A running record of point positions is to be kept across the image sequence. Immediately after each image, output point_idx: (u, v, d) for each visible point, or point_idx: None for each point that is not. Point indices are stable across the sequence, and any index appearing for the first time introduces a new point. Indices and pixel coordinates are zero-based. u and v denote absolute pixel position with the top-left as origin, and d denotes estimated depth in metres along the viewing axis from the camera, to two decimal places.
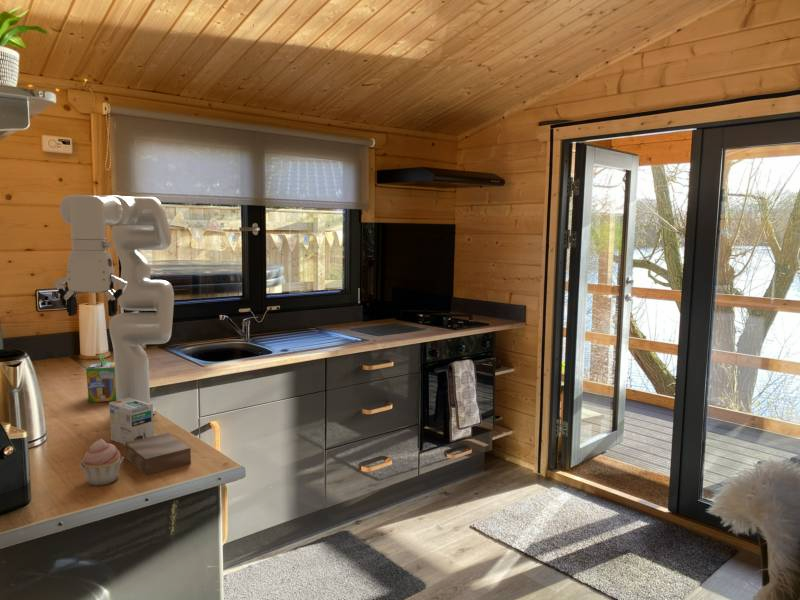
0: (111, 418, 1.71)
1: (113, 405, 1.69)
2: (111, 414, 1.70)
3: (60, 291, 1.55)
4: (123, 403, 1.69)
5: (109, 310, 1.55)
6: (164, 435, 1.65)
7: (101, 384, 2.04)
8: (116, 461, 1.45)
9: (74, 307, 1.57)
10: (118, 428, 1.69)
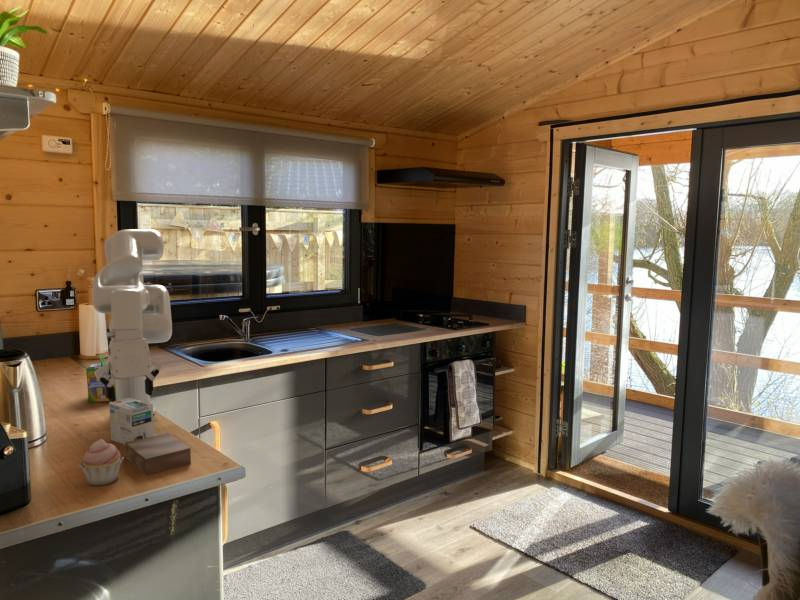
0: (111, 418, 1.71)
1: (113, 405, 1.69)
2: (111, 414, 1.70)
3: None
4: (123, 403, 1.69)
5: None
6: (164, 435, 1.65)
7: (101, 384, 2.04)
8: (116, 461, 1.45)
9: (147, 388, 1.72)
10: (118, 428, 1.69)
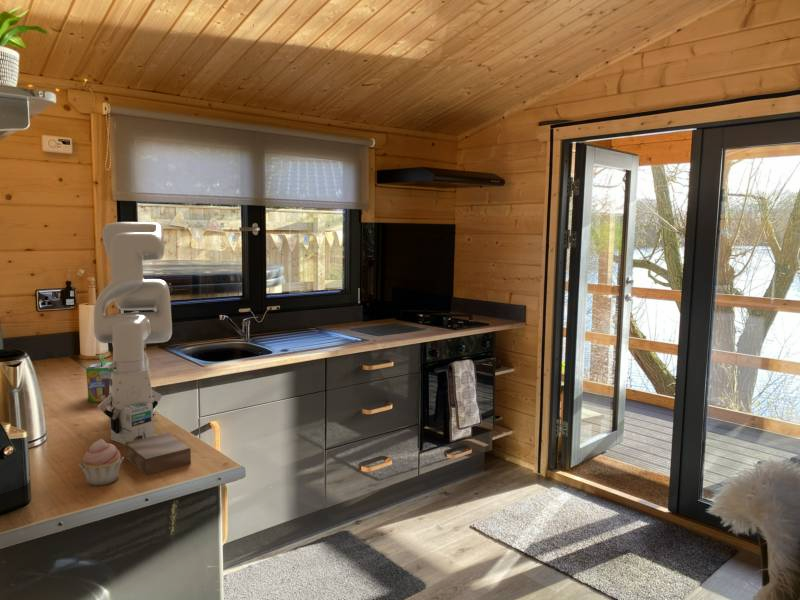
0: None
1: None
2: None
3: None
4: None
5: None
6: (164, 435, 1.65)
7: (101, 384, 2.04)
8: (116, 461, 1.45)
9: None
10: None
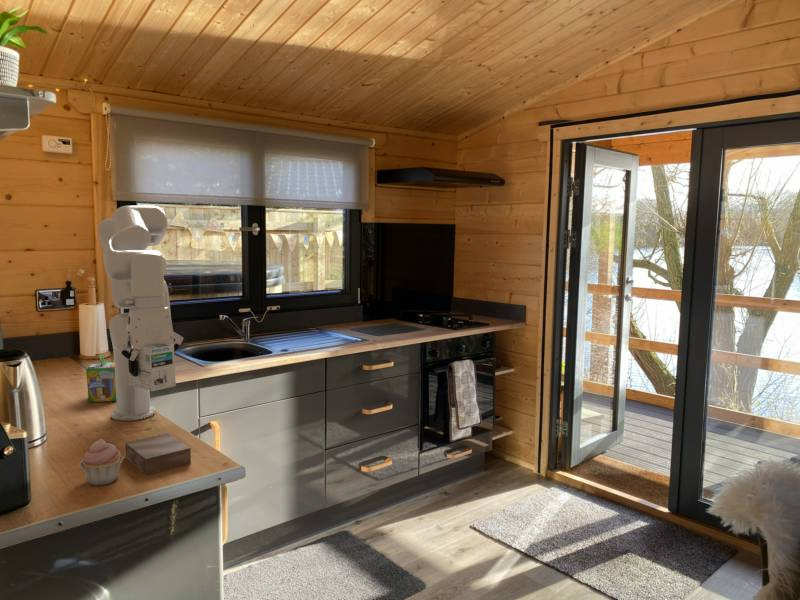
0: None
1: None
2: None
3: None
4: None
5: None
6: (164, 435, 1.65)
7: (101, 384, 2.04)
8: (116, 461, 1.45)
9: None
10: None
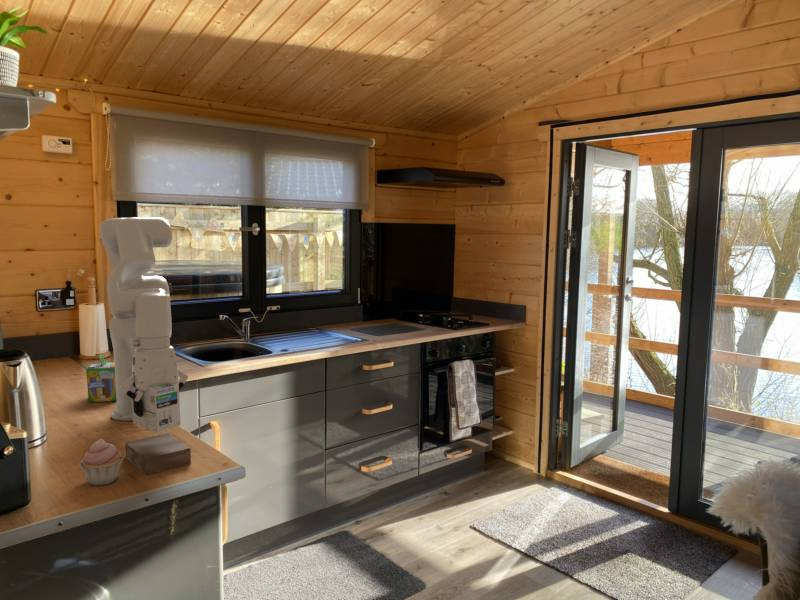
0: None
1: None
2: None
3: None
4: None
5: None
6: (164, 435, 1.65)
7: (101, 384, 2.04)
8: (116, 461, 1.45)
9: None
10: None
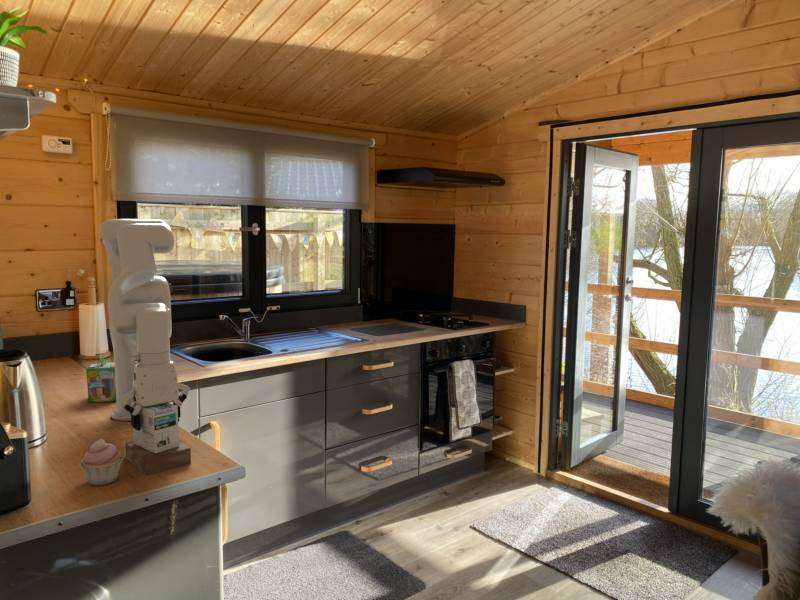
0: None
1: None
2: None
3: None
4: None
5: None
6: None
7: (101, 384, 2.04)
8: (116, 461, 1.45)
9: None
10: (141, 432, 1.55)
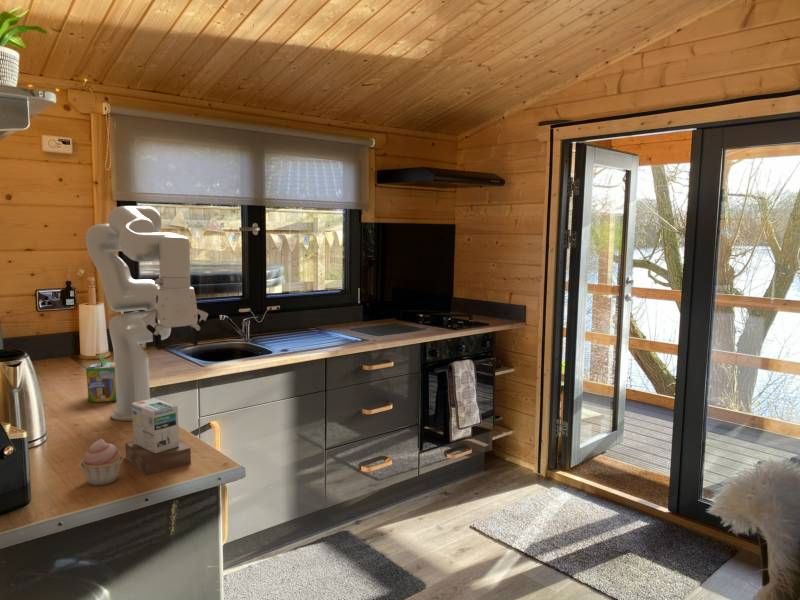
0: (134, 420, 1.57)
1: (135, 406, 1.56)
2: (134, 416, 1.57)
3: None
4: (146, 404, 1.56)
5: None
6: None
7: (101, 384, 2.04)
8: (116, 461, 1.45)
9: (193, 338, 1.70)
10: (141, 432, 1.55)
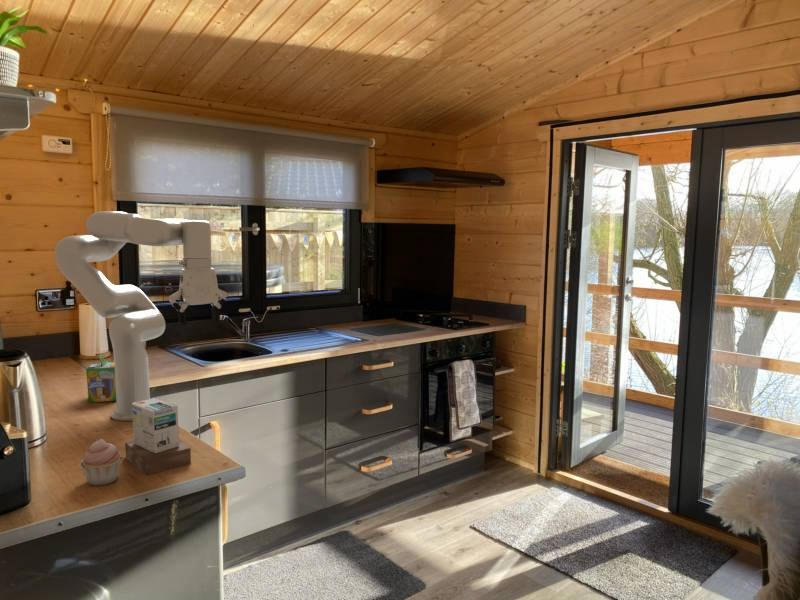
0: (134, 420, 1.57)
1: (135, 406, 1.56)
2: (134, 416, 1.57)
3: None
4: (146, 404, 1.56)
5: None
6: None
7: (101, 384, 2.04)
8: (116, 461, 1.45)
9: (214, 316, 1.83)
10: (141, 432, 1.55)
